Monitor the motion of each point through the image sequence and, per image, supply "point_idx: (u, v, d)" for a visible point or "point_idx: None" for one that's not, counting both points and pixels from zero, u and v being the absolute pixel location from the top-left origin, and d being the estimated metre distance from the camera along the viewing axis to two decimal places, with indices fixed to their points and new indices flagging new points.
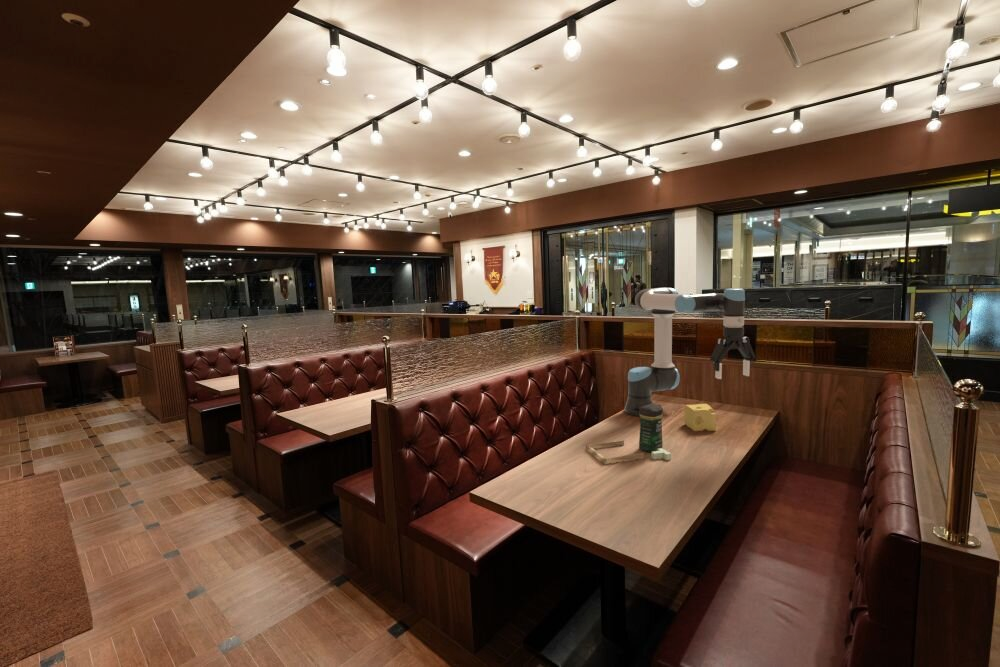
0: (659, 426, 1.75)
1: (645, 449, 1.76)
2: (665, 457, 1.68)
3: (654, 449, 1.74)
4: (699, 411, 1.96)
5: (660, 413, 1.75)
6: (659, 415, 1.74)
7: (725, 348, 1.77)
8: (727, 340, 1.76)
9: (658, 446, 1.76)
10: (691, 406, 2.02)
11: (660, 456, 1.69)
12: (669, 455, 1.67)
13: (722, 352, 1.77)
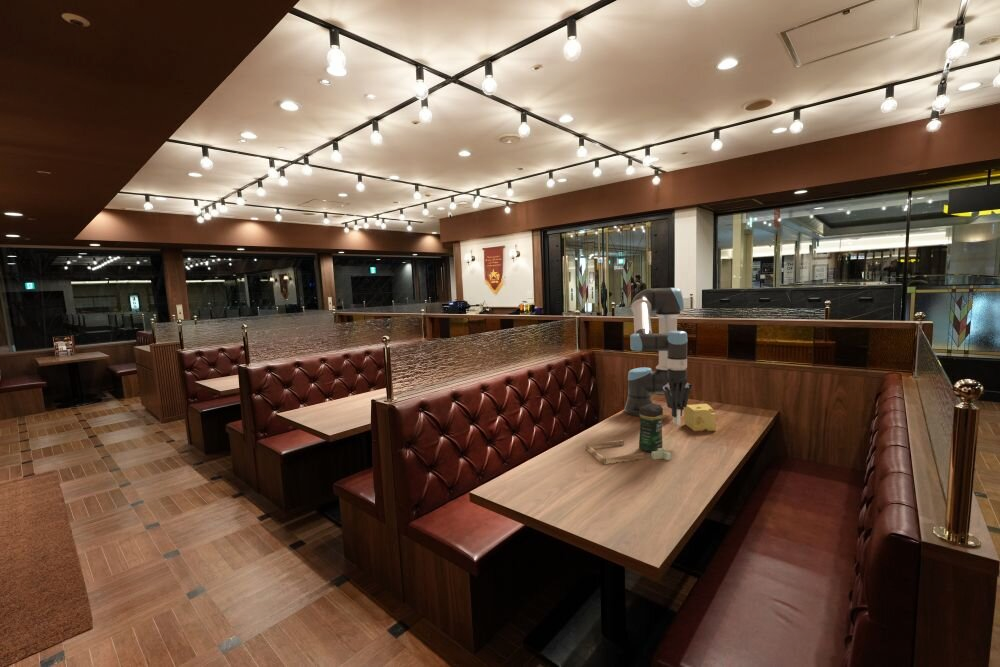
0: (659, 426, 1.75)
1: (645, 449, 1.76)
2: (665, 457, 1.68)
3: (654, 449, 1.74)
4: (699, 411, 1.96)
5: (660, 413, 1.75)
6: (659, 415, 1.74)
7: (673, 393, 1.78)
8: (670, 384, 1.77)
9: (658, 446, 1.76)
10: (691, 406, 2.02)
11: (660, 456, 1.69)
12: (669, 455, 1.67)
13: (673, 398, 1.78)
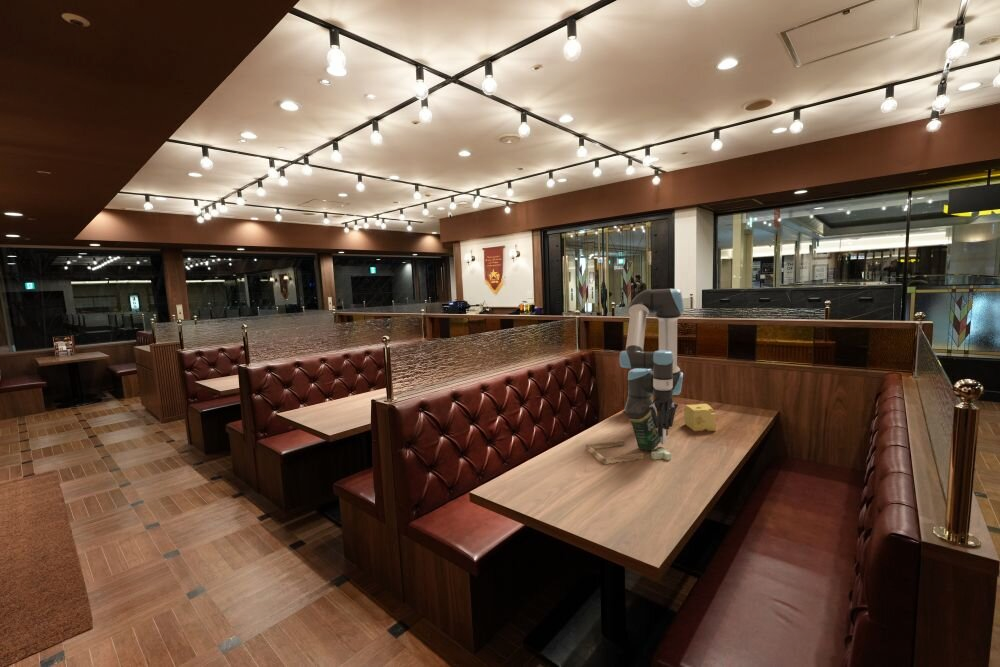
0: (650, 424, 1.73)
1: (644, 449, 1.75)
2: (665, 457, 1.68)
3: (652, 447, 1.74)
4: (699, 411, 1.96)
5: (647, 411, 1.73)
6: (647, 414, 1.72)
7: (659, 412, 1.77)
8: (656, 403, 1.76)
9: (656, 442, 1.75)
10: (691, 406, 2.02)
11: (660, 456, 1.69)
12: (669, 455, 1.67)
13: (659, 417, 1.78)
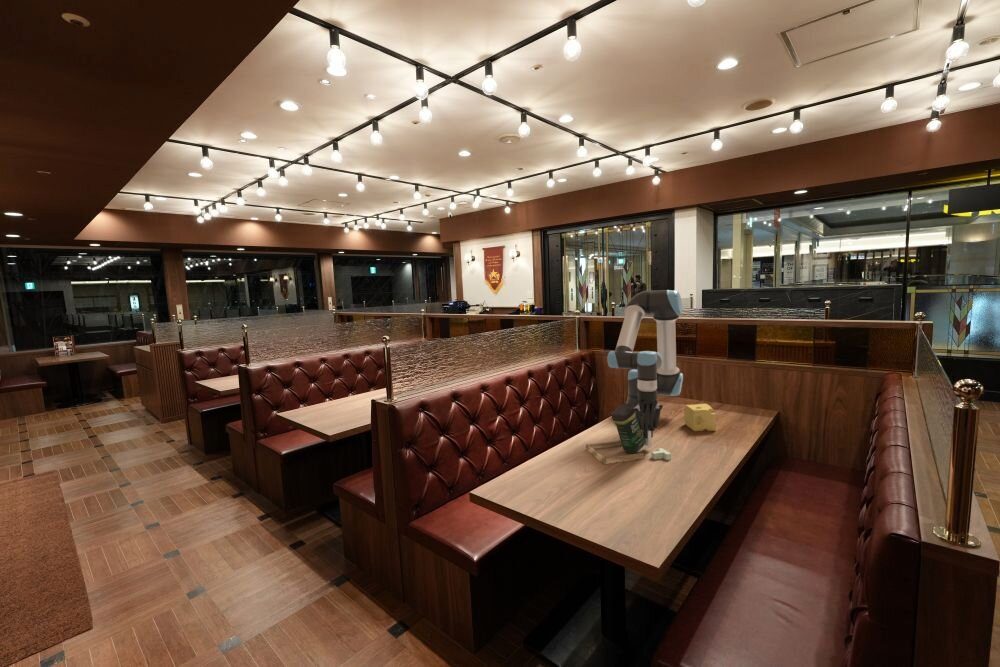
0: (634, 426, 1.71)
1: (628, 451, 1.74)
2: (665, 457, 1.68)
3: (636, 449, 1.72)
4: (699, 411, 1.96)
5: (631, 413, 1.71)
6: (630, 416, 1.70)
7: (644, 414, 1.76)
8: (640, 405, 1.74)
9: (640, 444, 1.73)
10: (691, 406, 2.02)
11: (660, 456, 1.69)
12: (669, 455, 1.67)
13: (644, 419, 1.76)
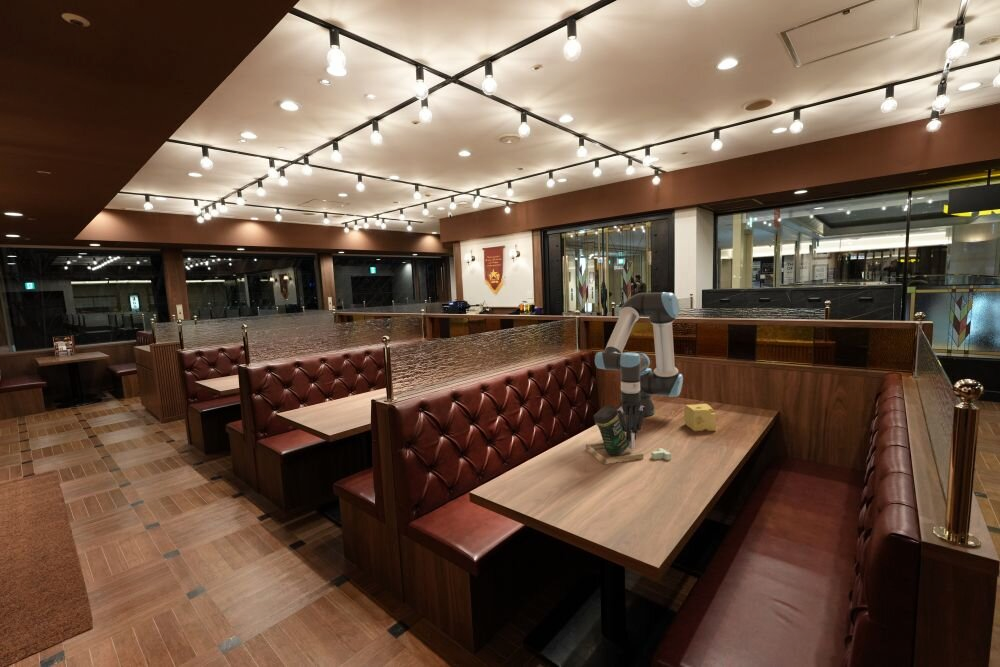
0: (617, 428, 1.70)
1: (611, 453, 1.73)
2: (665, 457, 1.68)
3: (619, 452, 1.71)
4: (699, 411, 1.96)
5: (613, 416, 1.69)
6: (612, 419, 1.69)
7: (627, 416, 1.74)
8: (623, 407, 1.72)
9: (623, 447, 1.72)
10: (691, 406, 2.02)
11: (660, 456, 1.69)
12: (669, 455, 1.67)
13: (627, 421, 1.74)
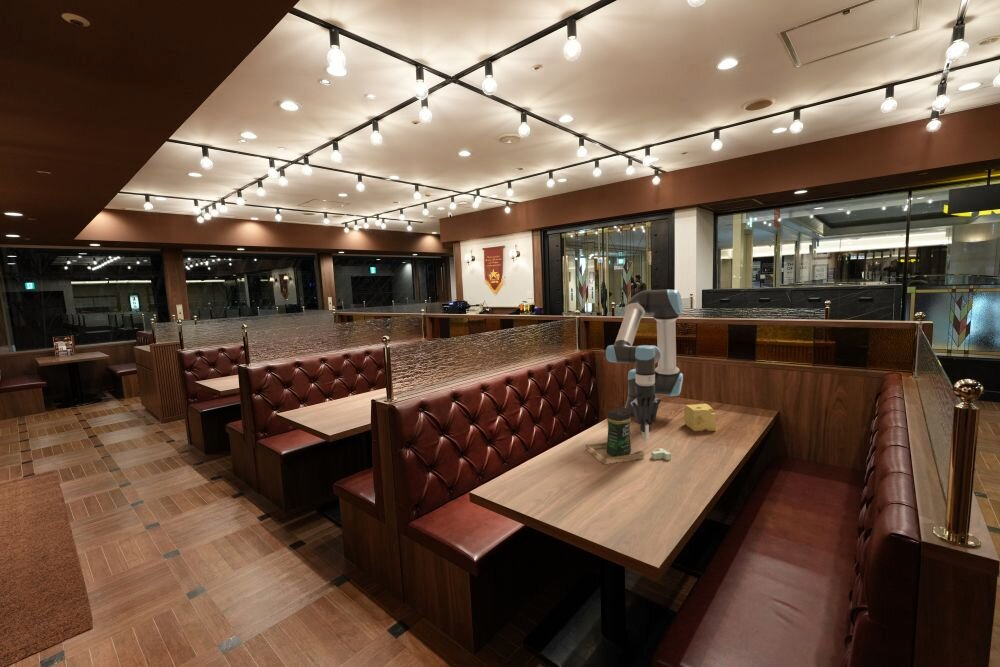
0: (626, 430, 1.71)
1: (612, 453, 1.73)
2: (665, 457, 1.68)
3: (620, 454, 1.71)
4: (699, 411, 1.96)
5: (627, 417, 1.71)
6: (626, 419, 1.71)
7: (641, 408, 1.76)
8: (638, 399, 1.74)
9: (625, 451, 1.72)
10: (691, 406, 2.02)
11: (660, 456, 1.69)
12: (669, 455, 1.67)
13: (641, 413, 1.76)
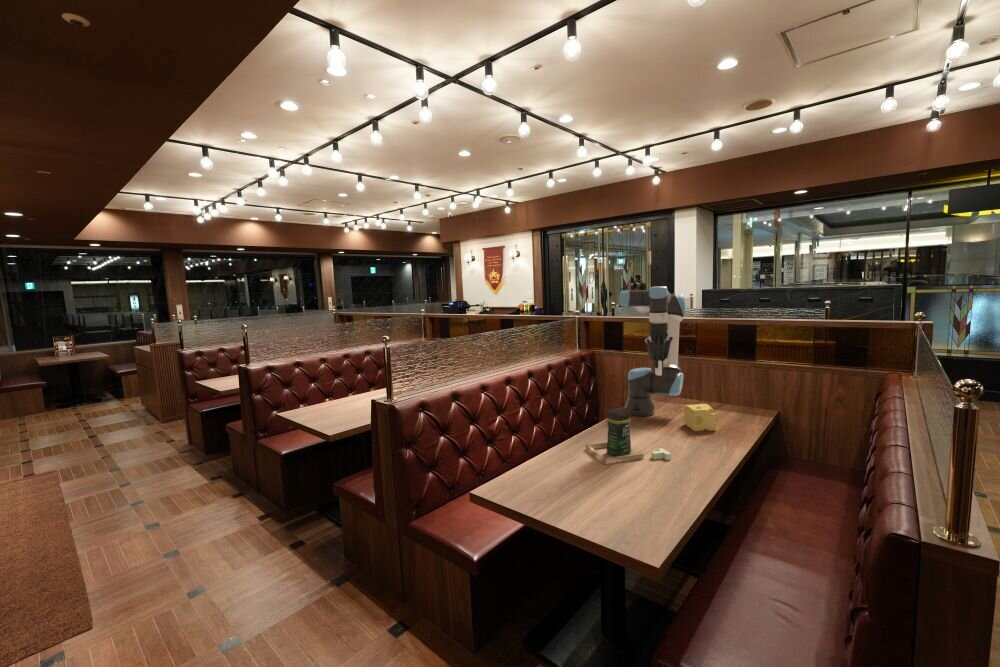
0: (626, 430, 1.71)
1: (612, 453, 1.73)
2: (665, 457, 1.68)
3: (620, 454, 1.71)
4: (699, 411, 1.96)
5: (627, 417, 1.71)
6: (626, 419, 1.71)
7: (655, 345, 1.88)
8: (652, 336, 1.87)
9: (625, 451, 1.72)
10: (691, 406, 2.02)
11: (660, 456, 1.69)
12: (669, 455, 1.67)
13: (655, 349, 1.89)
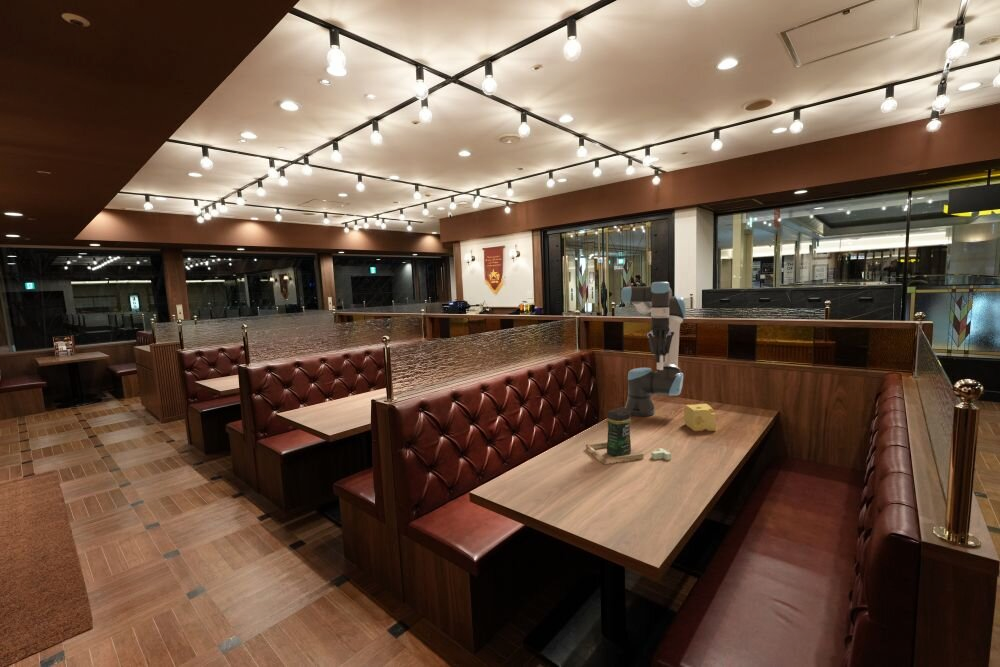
0: (626, 430, 1.71)
1: (612, 453, 1.73)
2: (665, 457, 1.68)
3: (620, 454, 1.71)
4: (699, 411, 1.96)
5: (627, 417, 1.71)
6: (626, 419, 1.71)
7: (656, 339, 1.91)
8: (653, 331, 1.89)
9: (625, 451, 1.72)
10: (691, 406, 2.02)
11: (660, 456, 1.69)
12: (669, 455, 1.67)
13: (656, 344, 1.91)
